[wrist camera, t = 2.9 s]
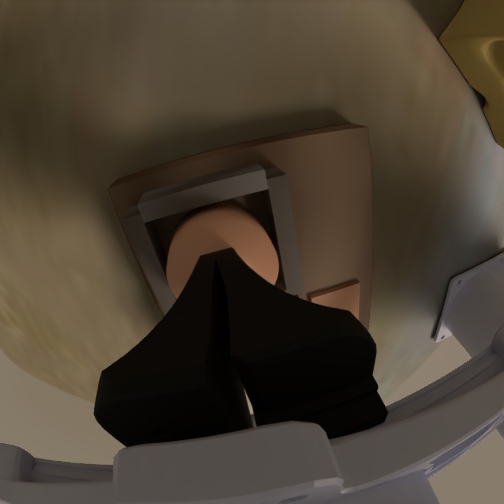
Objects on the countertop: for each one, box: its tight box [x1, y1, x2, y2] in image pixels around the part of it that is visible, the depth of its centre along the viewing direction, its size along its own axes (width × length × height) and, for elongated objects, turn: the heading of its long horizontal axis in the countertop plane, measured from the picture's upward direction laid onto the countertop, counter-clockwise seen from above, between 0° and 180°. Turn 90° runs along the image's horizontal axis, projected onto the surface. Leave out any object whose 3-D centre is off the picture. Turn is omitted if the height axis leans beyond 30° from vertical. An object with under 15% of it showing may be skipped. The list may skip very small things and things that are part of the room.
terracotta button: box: [166, 203, 279, 298], centre depth 12 cm, size 4×4×2 cm
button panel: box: [108, 124, 373, 331], centre depth 17 cm, size 12×22×3 cm, turn 12°
